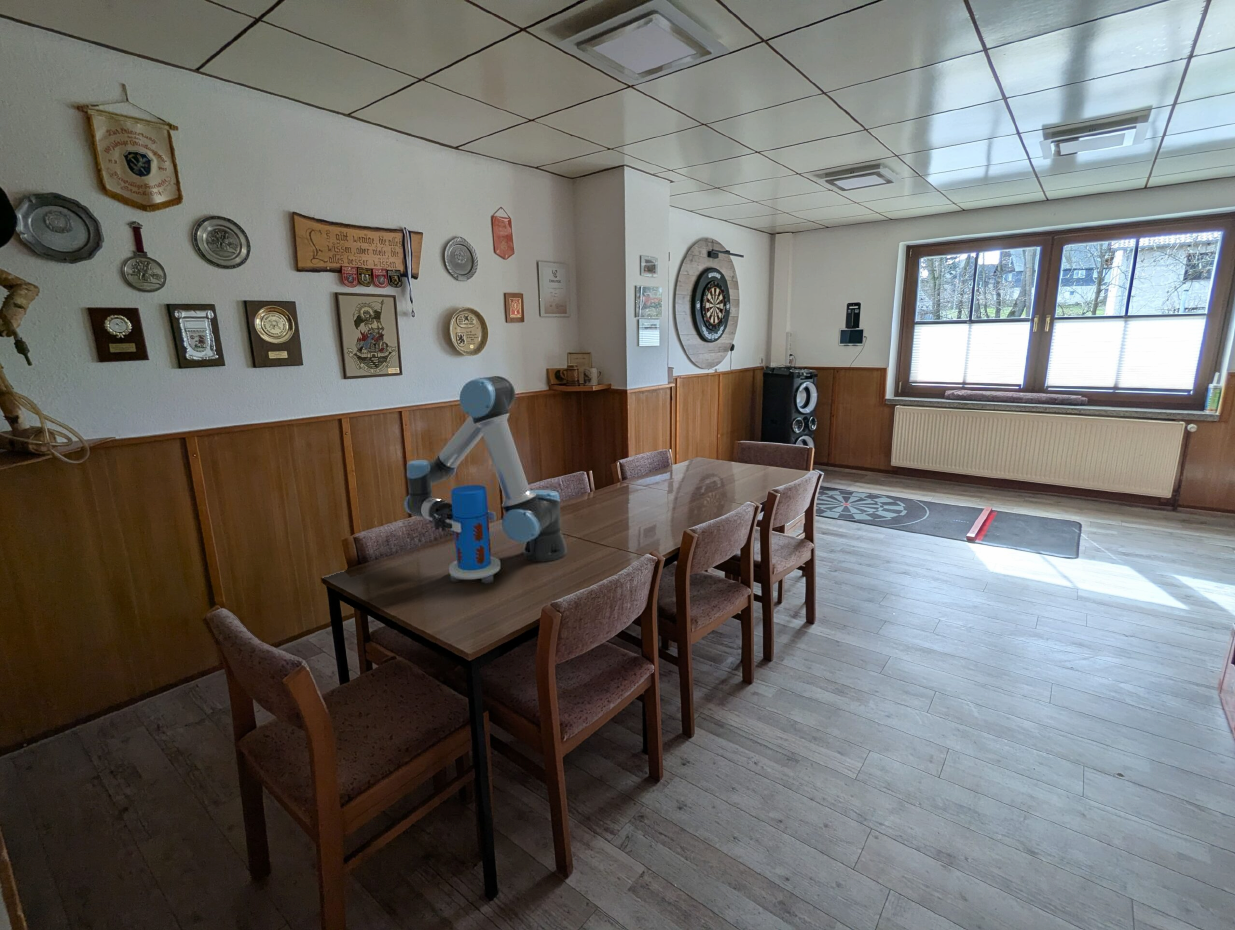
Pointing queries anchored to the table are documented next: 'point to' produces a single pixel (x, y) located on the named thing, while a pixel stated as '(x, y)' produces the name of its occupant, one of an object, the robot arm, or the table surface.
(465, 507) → the thermos
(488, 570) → the levelling base
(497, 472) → the robot arm
